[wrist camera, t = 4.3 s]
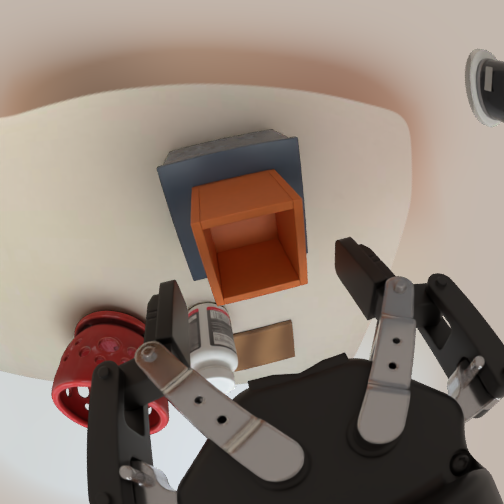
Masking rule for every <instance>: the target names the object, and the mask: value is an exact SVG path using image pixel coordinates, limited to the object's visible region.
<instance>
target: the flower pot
mask: <svg viewBox="0 0 504 504" xmlns="http://www.w3.org/2000/svg"><path fill="white" fill-rule="evenodd" d="M144 332H145V324H144V323H143V322H141V321H139V320H138V319H136V318H134V317H132V316H130V315H127V314H124V313H120V312H116V311H98V312H94V313H91V314H89V315H87V316H85V317H83V318H82V319H81V320H80V321H79V323H78V324H77V326H76V329H75V334H74V337H75V338H74V339H73V340H72V341H71V343H70V344H69V345H68V347H67V348H66V350H65V352H64V353H63V355H62V357H61V361H60V365H59V367H58V370H57V372H56V375H55V378H54V382H53V387H52V399H53V402H54V403H55V405H56V406H57V408H58V409H59V410H60V411H61V412H62V413H63V414H64V415H65V416H67V417H68V418H69V419H71V420H72V421H74V422H76V423H78V424H80V425H82V426H84V427H86V428H88V412H89V410H87V409H86V408H85V404H86V403H87V404H89V400H90V390H91V381H92V374H93V371H94V369H95V368H96V366H97V365H98V364H100V363H101V362H103V361H108V360H110V361H114V362H115V363H116V364H117V365H120V364H123V363H125V362H127V361H129V360H131V359H133V358H134V356H135V353H136V351H137V349H138V348H139V347H140V346H141V345H142V344H143V342H144ZM78 386H79V387H88V389H89V395H88V397H86V398H84V397H82V396H80V395H79V393H78V388H77V387H78ZM67 388H68V389H69V396H67V394H66V389H67ZM150 407H151V408H152V411H151V413H150V414H149V428H150V435H151V434H154V433H157V432H159V431H160V430H162V429H163V428H164V427H165V426H166V425H167V423H168V421H169V409H168V400H167V399H166V398H165V397H162V398H160V399H157V400H155V401H153V402H151V403H149V404H148V408H150Z"/></svg>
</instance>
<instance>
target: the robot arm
mask: <svg viewBox="0 0 504 504" xmlns="http://www.w3.org/2000/svg"><path fill="white" fill-rule="evenodd" d="M476 89H477V95H478V99H479V103H480V105H481V108H482V110H483V112H484V113H485V114H486V116H487V117H489V118H490V119H493V120H498V121H501V122H504V62H503V61H498V60H493V59H490V58H484V59H482V60H481V61H480V62H479V64H478V67H477V71H476ZM335 270H336V273H337V275H338V277H339V279H340V280H341V282H342V283H343V284H344V286H345V287H346V289H347V290H348V292H349V293H350V295H351V296H352V298H353V299H354V301H355V302H356V304H357V305H358V306H359V308H360V309H361V311H362V313H363V314H364V316H365V317H366V319H367V320H370V319H372V318H376V319H377V324H376V330H375V335H374V340H373V345H372V349H371V354H370V358H369V360H365V359H358V358H351V359H348V357H347V355H346V354H345V353H342V354H339V355H336V356H333V357H331V358H328V359H325V360H322V361H320V362H319V363H317V364H315V365H314V366H312V367H310V368H308V369H307V370H305V371H303V372H301V373H298V374H283V375H271V376H267V377H263V378H259V379H255V380H251V381H248V384H249V388H248V389H246V390H244V391H243V392H241V393H239V394H238V395H237V396H236V397H235V398H234V399H233V400H232V399H230V398H229V397H228V396H226V395H225V394H224V393H223V392H221V391H220V390H219V389H217V388H216V387H215V386H214V385H212V384H211V383H210V382H209V381H208V380H206V379H205V378H204V377H203V376H201V375H200V374H199V373H198V372H197V371H195V370H194V369H193V368H191V362H190V344H189V321H188V310H187V306H186V303H185V300H184V298H183V296H182V293H181V291H180V288H179V286H178V284H177V282H176V280H171V281H167V282H163V283H160V288H159V294H157V295H153V296H152V298H151V299H150V301H149V303H148V307H147V315H146V324H145V332H144V342H143V344H142V345H141V346H140V347H139V348H138V349H137V351H136V353H135V356H134V358H133V359H131V360H129V361H127V362H125V363H123V364H120V365H117V364H116V363H115V362H114V361H110V360H108V361H103V362H101V363H100V364H98V365H97V366H96V368H95V369H94V371H93V374H92V381H91V390H90V400H89V412H88V430H87V431H88V432H87V479H88V496H89V502H90V504H503V502H502V499H501V496H500V494H499V492H498V489H497V487H496V485H495V482H494V480H493V478H492V476H491V474H490V473H489V471H487V470H486V469H485V468H484V467H483V466H482V465H481V464H479V463H478V462H477V461H476V460H475V459H474V458H473V457H472V455H471V454H470V453H469V451H468V449H467V445H466V440H465V431H464V424H465V423H466V422H468V421H469V420H470V419H472V418H480V417H482V416H483V415H484V414H485V413H486V412H488V411H489V410H490V409H491V408H492V407H493V406H494V405H495V404H497V403H498V402H499V400H501V399H502V398H503V397H504V345H503V343H502V342H501V340H500V339H499V338H498V336H497V335H496V334H495V332H494V331H493V330H492V328H491V327H490V326H489V324H488V323H487V322H486V320H485V319H484V318H483V317H482V315H481V314H480V313H479V312H478V310H477V309H476V308H475V307H474V306H473V304H472V303H471V302H470V300H469V299H468V298H467V297H466V296H465V295H464V294H463V292H462V291H461V290H460V289H459V288H458V287H457V285H456V284H455V283H454V282H453V281H452V280H451V279H450V278H449V277H448V276H446V275H444V274H438V273H437V274H433V275H431V276H430V277H429V279H428V282H427V283H425V284H413V283H412V282H411V281H410V280H408V279H407V278H404V277H399V276H395V275H394V274H393V273H392V272H391V270H390V269H389V268H388V267H387V266H386V265H385V264H384V263H383V262H382V261H380V259H379V257H378V256H376V254H375V253H374V252H373V251H372V250H371V249H370V248H368V247H366V246H364V245H362V244H360V245H358V244H357V243H356V242H355V241H354V240H353V239H352V238H351V237H348V238H344V239H340V240H337V241H336V243H335ZM442 316H444V317H445V318H446V320H447V321H448V322H449V324H450V326H451V328H450V327H449V326H448V325H447V323H446V322H445V320H444V319H443V317H442ZM416 328H418V330H419V331H420V333H421V334H422V336H423V338H424V339H425V341H426V342H427V344H428V346H429V347H430V349H431V350H432V352H433V354H434V355H435V357H436V359H437V360H438V362H439V364H440V365H441V367H442V369H443V370H444V372H445V374H446V375H447V377H448V382H447V389H448V394H445V393H443V392H440V391H438V390H436V389H433V388H431V387H429V386H426V385H424V384H422V383H419V382H417V381H415V380H412V379H411V375H412V366H413V358H414V348H415V335H416ZM189 368H190V369H189ZM162 397H165V398H166V399H167V400H168V401H169V402H170V403H171V404H172V405H173V406H174V407H175V408H176V409H177V410H178V411H179V412H180V413H181V414H182V415H183V416H184V417H185V418H186V419H187V420H188V421H189V422H190V423H191V424H192V425H194V426H195V427H196V428H197V429H198V430H199V431H200V432H201V433H202V434H203V435H204V436H205V437H206V438H208V439H207V441H206V442H205V444H204V445H203V447H202V449H201V450H200V452H199V454H198V455H197V457H196V458H195V460H194V461H193V463H192V465H191V467H190V468H189V469H188V471H187V472H186V474H185V476H184V477H183V479H182V480H181V482H180V484H179V486H178V489H177V491H175V490H174V489H172V488H171V486H170V485H169V483H168V480H167V477H166V475H165V474H164V473H163V472H162V471H161V470H159V469H157V468H155V467H153V459H152V450H151V440H150V428H149V414H148V404H149V403H151V402H153V401H155V400H157V399H160V398H162Z"/></svg>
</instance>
